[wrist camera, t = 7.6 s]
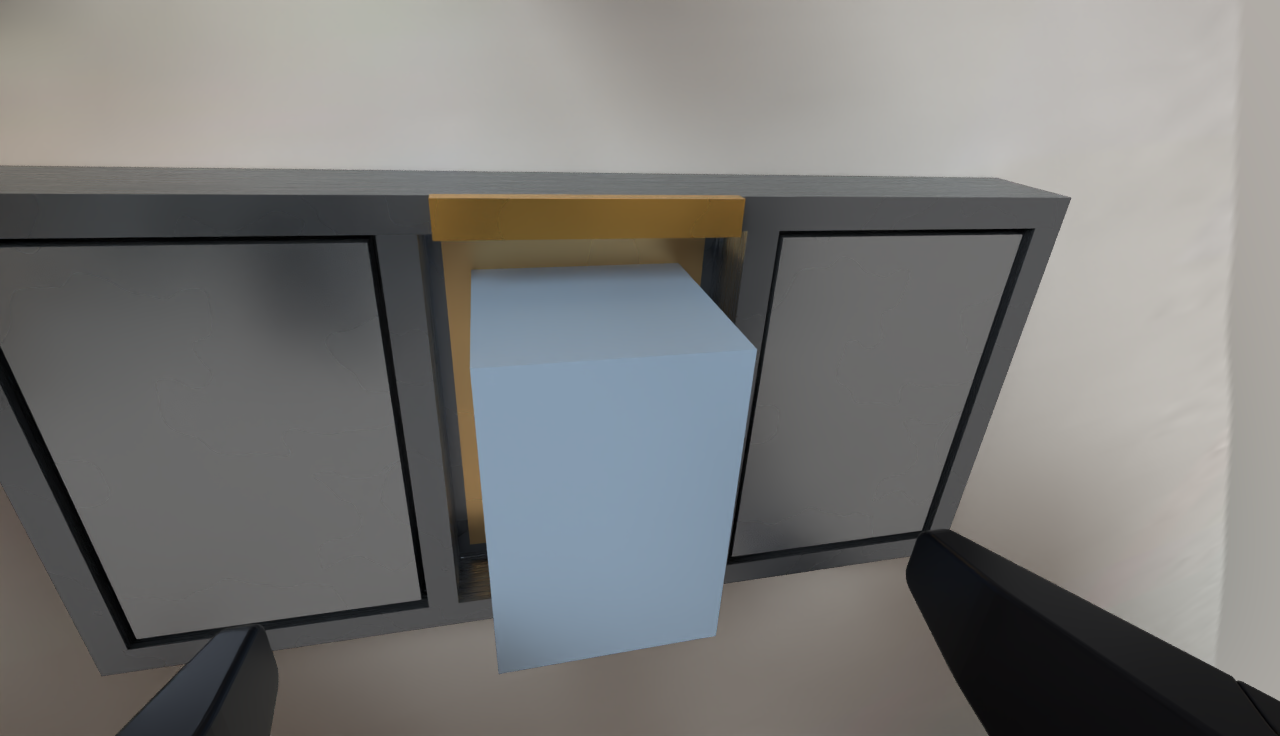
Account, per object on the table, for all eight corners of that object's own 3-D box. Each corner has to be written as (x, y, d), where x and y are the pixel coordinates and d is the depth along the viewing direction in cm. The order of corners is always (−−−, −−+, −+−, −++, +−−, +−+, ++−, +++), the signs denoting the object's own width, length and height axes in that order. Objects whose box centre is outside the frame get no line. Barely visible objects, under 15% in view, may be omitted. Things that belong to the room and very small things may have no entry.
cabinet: (997, 176, 14) (1084, 200, 12) (896, 502, 18) (948, 559, 16) (-40, 163, 9) (-174, 196, 8) (148, 596, 14) (94, 689, 12)
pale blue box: (678, 262, 12) (756, 349, 9) (660, 499, 15) (715, 635, 12) (471, 269, 11) (470, 368, 8) (492, 520, 14) (498, 674, 11)
